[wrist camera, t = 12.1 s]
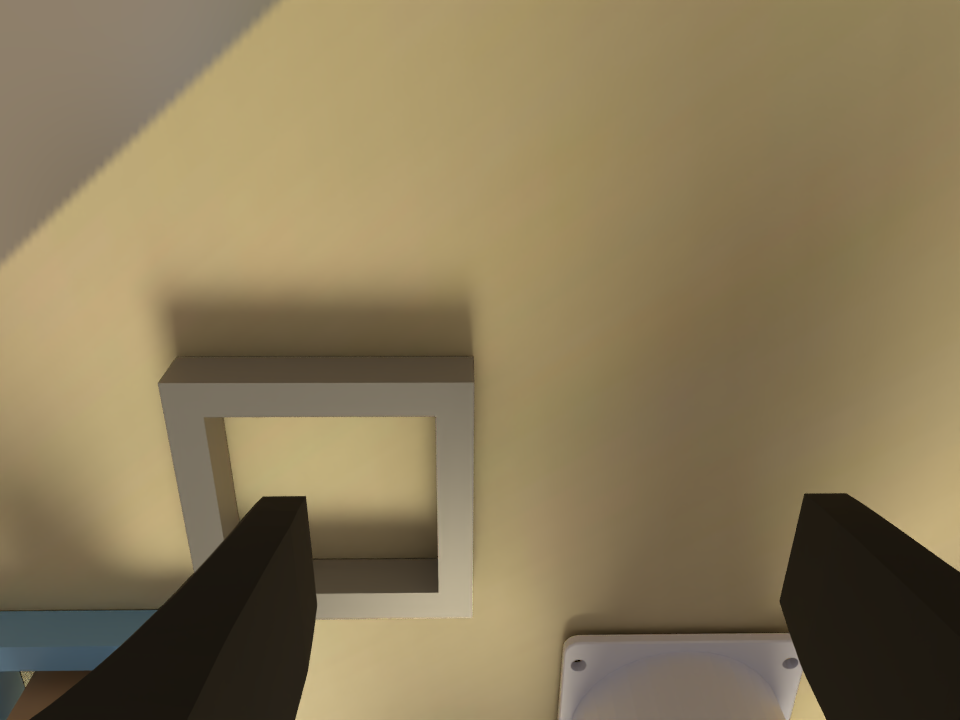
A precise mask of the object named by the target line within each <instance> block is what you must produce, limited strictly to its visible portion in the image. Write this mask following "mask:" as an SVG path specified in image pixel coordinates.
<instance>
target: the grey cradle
mask: <svg viewBox="0 0 960 720" xmlns="http://www.w3.org/2000/svg"><path fill="white" fill-rule="evenodd" d="M158 387H159V392H160V397H161V402H162V408H163V413H164V418H165V423H166V429H167V434H168V439H169V444H170V449H171V455H172V460H173V465H174V470H175V475H176V481H177V486H178V491H179V496H180V501H181V507H182V512H183V517H184V522H185V528H186V533H187V538H188V543H189V548H190V554H191V559H192V564H193V569H194V572H195V571H196V570H197V569H198V568H199V567H200V566H201V565H202V564H203V563H204V562H205V561H206V559H207V558H208V557H209V556H210V555H211V554H212V553H213V552H214V551H215V549H216V548H217V547H218V546H219V545H220V544H221V543H222V542H223V541H224V539H225V538H226V537H227V536H228V535H229V534H230V533H231V531H232V530H233V529H234V528H235V527H236V526H237V525H238V523H239V517H238V510H237V504H236V497H235V491H234V484H233V478H232V471H231V465H230V458H229V452H228V445H227V439H226V432H225V426H224V420H223V417H436V467H437V524H438V559H327V560H313V569H314V578H315V587H316V597H317V612H316V619H422V618H473V488H474V360H473V357H176V358H175V360H174V361H173V362H172V364H171V365H170V367H169V368H168V370H167V371H166V372H165V374H164V375H163V377H162V378H161V379H160V381H159V382H158Z"/></svg>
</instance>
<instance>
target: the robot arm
mask: <svg viewBox="0 0 960 720" xmlns="http://www.w3.org/2000/svg"><path fill="white" fill-rule="evenodd" d="M780 605H781V608H782V611H783V614H784V617H785V620H786V624H787V627H788V630H789V633H733V634H630V635H576V636H572V637H570V638H568V639H567V640H566V641H565V642H564V645H563V653H562V666H561V679H560V693H559V706H558V719H557V720H790V717H791V713H792V710H793V706H794V702H795V698H796V694H797V690H798V687H799V683H800V679H801V675H802V671H804V674H805V676H806V678H807V680H808V682H809V684H810V686H811V688H812V691H813V693H814V695H815V697H816V699H817V701H818V703H819V705H820V707H821V709H822V711H823V713H824V715H825V717H826V720H960V572H959V571H957V570H956V569H954V568H953V567H952V566H950V565H949V564H947V563H946V562H944V561H943V560H942V559H940V558H939V557H937V556H936V555H935V554H933V553H932V552H930V551H929V550H928V549H926V548H925V547H923V546H922V545H921V544H919V543H918V542H916V541H915V540H914V539H912V538H911V537H909V536H908V535H907V534H905V533H904V532H902V531H901V530H900V529H898V528H897V527H895V526H894V525H893V524H891V523H890V522H888V521H887V520H885V519H884V518H883V517H881V516H880V515H878V514H877V513H875V512H874V511H872V510H871V509H870V508H868V507H867V506H865V505H864V504H862V503H861V502H859V501H857V500H856V499H854V498H853V497H851V496H849V495H848V494H846V493H832V494H804V498H803V502H802V506H801V511H800V515H799V519H798V524H797V528H796V532H795V537H794V541H793V545H792V549H791V554H790V558H789V562H788V567H787V571H786V575H785V580H784V584H783V588H782V593H781V597H780ZM316 612H317V597H316V587H315V578H314V569H313V559H312V550H311V540H310V531H309V521H308V512H307V503H306V496H280V497H262V498H261V499H260V500H259V501H258V502H257V503H256V504H255V505H254V506H253V507H252V508H251V510H250V511H249V512H248V513H247V514H246V515H245V516H244V518H243V519H242V520H241V521H240V522H239V523H238V525H237V526H236V527H235V528H234V529H233V530H232V531H231V533H230V534H229V535H228V536H227V537H226V538H225V539H224V541H223V542H222V543H221V544H220V545H219V546H218V547H217V548H216V549H215V551H214V552H213V553H212V554H211V555H210V556H209V557H208V558H207V559H206V561H205V562H204V563H203V564H202V565H201V566H200V567H199V568H198V569H197V570H196V571H195V572H194V573H193V574H192V575H191V576H190V578H189V579H188V580H187V581H186V582H185V583H184V584H183V585H182V586H181V587H180V588H179V589H178V590H177V591H176V592H175V593H174V594H173V595H172V597H171V598H170V599H169V600H168V601H167V602H166V603H165V604H164V605H163V606H161V607H160V608H159V609H158V610H157V611H156V612H155V613H154V614H153V615H152V616H151V617H150V618H149V619H148V620H147V621H146V622H145V623H144V624H143V625H142V626H141V627H140V628H139V629H138V630H136V631H135V632H134V633H133V634H132V635H131V636H130V637H129V638H128V639H127V640H126V641H125V642H124V643H123V644H122V645H121V646H120V647H118V648H117V649H116V650H115V651H114V652H113V653H112V654H111V655H109V656H108V657H107V658H106V659H105V660H104V661H103V662H102V663H100V664H99V665H98V666H97V667H96V668H95V669H93V670H92V671H91V672H90V673H89V674H88V675H86V676H85V677H84V678H83V679H81V680H80V681H79V682H78V683H76V684H75V685H74V686H73V687H72V688H70V689H69V690H68V691H67V692H65V693H64V694H63V695H62V696H60V697H59V698H58V699H56V700H55V701H54V702H53V703H51V704H50V705H49V706H47V707H46V708H45V709H43V710H42V711H40V712H39V713H38V714H36V715H35V716H33V717H32V718H31V719H29V720H295V718H296V714H297V710H298V706H299V703H300V699H301V695H302V691H303V688H304V684H305V680H306V676H307V672H308V666H309V660H310V654H311V647H312V641H313V633H314V626H315V619H316ZM787 658H790V659H787ZM786 659H787V660H786ZM575 660H582V661H580V662H574V661H575Z"/></svg>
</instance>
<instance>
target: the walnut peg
mask: <svg viewBox="0 0 960 720" xmlns="http://www.w3.org/2000/svg"><path fill="white" fill-rule="evenodd" d="M91 671H92V670H84V671H35V672H34V674H33V676H32V677H31V679H30V681H29V683H28V684H27V686H26V688H25V689H24V691H23V693H22V694H21V696H20V698H19V699H18V701H17V703H16V704H15V706H14V708H13V709H12V711H11V713H10V714H9V716H8V718H7V719H6V720H29V719H31V718H32V717H33V716H35V715H36V714H38V713H39V712H40V711H42V710H43V709H45V708H46V707H47V706H49V705H50V704H51V703H53V702H54V701H55V700H56V699H58V698H59V697H60V696H62V695H63V694H64V693H65V692H67V691H68V690H69V689H70V688H72V687H73V686H74V685H75V684H76V683H78V682H79V681H80V680H81V679H83V678H84V677H85V676H86V675H88V674H89V673H90V672H91Z"/></svg>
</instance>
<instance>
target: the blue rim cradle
mask: <svg viewBox="0 0 960 720" xmlns="http://www.w3.org/2000/svg"><path fill="white" fill-rule="evenodd" d="M156 611H157V610H95V611H0V720H6V719H7V718H8V716H9V714H10V713H11V711H12V709H13V708H14V706H15V704H16V703H17V701H18V699H19V698H20V696H21V694H22V693H23V691H24V689H25V687H24V684H23V681H22V678H21V675H20V672H19V671H84V670H93V669H95V668H96V667H97V666H98V665H99V664H100V663H102V662H103V661H104V660H105V659H106V658H107V657H108V656H109V655H111V654H112V653H113V652H114V651H115V650H116V649H117V648H118V647H120V646H121V645H122V644H123V643H124V642H125V641H126V640H127V639H128V638H129V637H130V636H131V635H132V634H133V633H134V632H135V631H136V630H138V629H139V628H140V627H141V626H142V625H143V624H144V623H145V622H146V621H147V620H148V619H149V618H150V617H151V616H152V615H153V614H154V613H155V612H156Z"/></svg>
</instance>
